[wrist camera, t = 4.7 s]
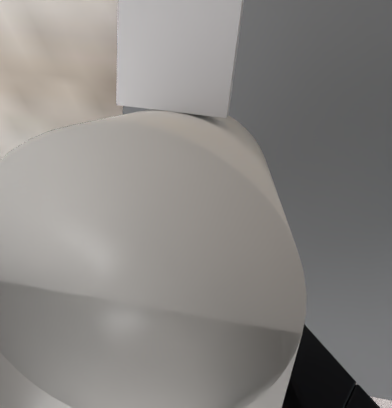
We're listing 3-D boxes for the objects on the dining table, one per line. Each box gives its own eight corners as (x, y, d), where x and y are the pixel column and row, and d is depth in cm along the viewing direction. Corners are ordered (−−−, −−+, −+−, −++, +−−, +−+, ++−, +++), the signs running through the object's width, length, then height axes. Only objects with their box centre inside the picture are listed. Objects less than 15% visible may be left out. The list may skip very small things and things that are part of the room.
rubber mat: (462, 404, 18) (469, 415, 17) (120, 341, 20) (117, 348, 19) (776, -161, 10) (809, -177, 9) (135, -184, 11) (129, -198, 11)
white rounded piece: (230, 394, 11) (222, 620, 6) (107, 370, 11) (14, 566, 7) (307, 0, 7) (448, -195, 2) (111, -17, 7) (-124, -212, 3)
